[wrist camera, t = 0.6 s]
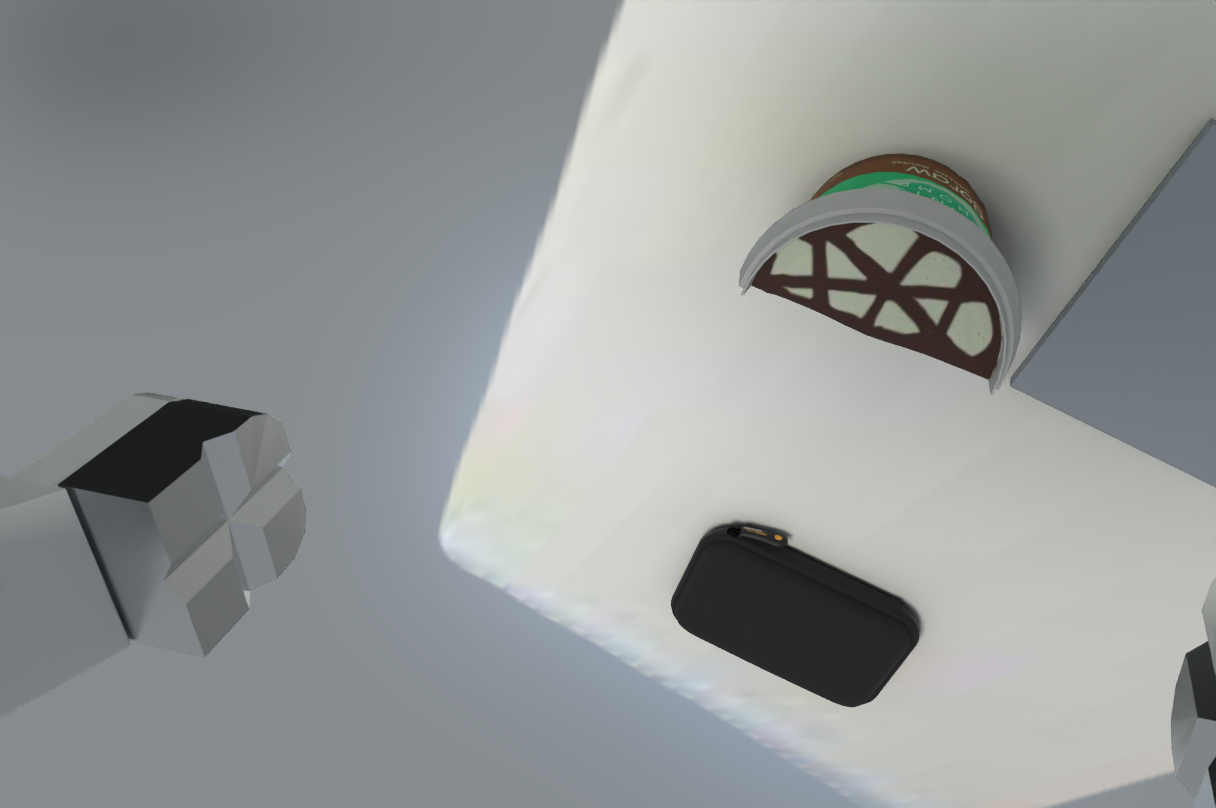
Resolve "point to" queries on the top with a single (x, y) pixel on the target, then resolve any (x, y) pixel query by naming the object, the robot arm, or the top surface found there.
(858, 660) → the carrying case or bag
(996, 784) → the top surface
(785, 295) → the food container
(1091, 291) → the slate mat
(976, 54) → the top surface
